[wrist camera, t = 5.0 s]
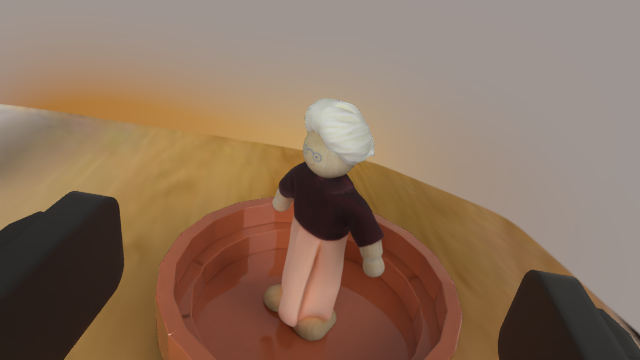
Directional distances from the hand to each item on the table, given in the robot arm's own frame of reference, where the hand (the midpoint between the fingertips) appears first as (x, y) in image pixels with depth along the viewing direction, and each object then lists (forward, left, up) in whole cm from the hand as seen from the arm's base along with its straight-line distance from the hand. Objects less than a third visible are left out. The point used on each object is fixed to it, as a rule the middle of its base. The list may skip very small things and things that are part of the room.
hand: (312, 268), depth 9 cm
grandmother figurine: (0, +12, -13) cm, 17 cm away
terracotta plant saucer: (0, +12, -13) cm, 17 cm away
